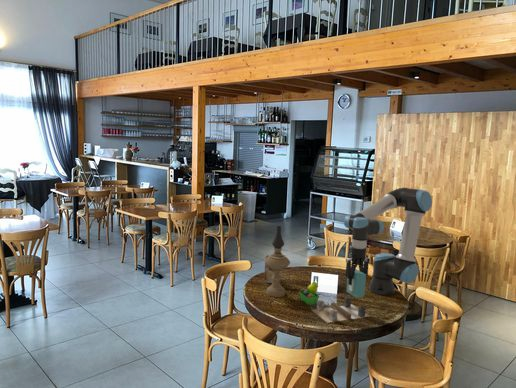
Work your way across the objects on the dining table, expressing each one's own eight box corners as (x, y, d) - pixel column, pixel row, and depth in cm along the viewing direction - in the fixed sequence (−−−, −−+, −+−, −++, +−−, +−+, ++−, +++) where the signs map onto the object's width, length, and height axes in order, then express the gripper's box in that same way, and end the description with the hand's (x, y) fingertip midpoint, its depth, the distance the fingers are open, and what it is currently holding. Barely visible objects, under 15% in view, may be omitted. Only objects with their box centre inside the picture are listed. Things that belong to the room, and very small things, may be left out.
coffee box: (280, 281, 260) (281, 256, 258) (277, 284, 254) (279, 259, 252) (266, 279, 263) (267, 255, 261) (263, 282, 257) (264, 257, 255)
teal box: (354, 290, 220) (355, 269, 219) (364, 296, 212) (366, 274, 211) (346, 291, 218) (347, 269, 217) (356, 297, 210) (358, 275, 209)
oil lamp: (283, 288, 248) (287, 223, 243) (292, 297, 234) (295, 229, 228) (260, 289, 244) (262, 224, 239) (266, 299, 230) (270, 229, 224)
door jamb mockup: (352, 305, 226) (353, 295, 225) (370, 317, 211) (371, 306, 210) (311, 310, 216) (311, 300, 215) (327, 323, 201) (327, 313, 201)
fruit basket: (297, 299, 232) (298, 279, 230) (311, 297, 235) (312, 278, 233) (307, 306, 221) (308, 286, 220) (321, 305, 224) (322, 285, 223)
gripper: (368, 244, 219) (365, 286, 222) (340, 246, 212) (336, 289, 215) (377, 248, 212) (374, 290, 215) (348, 250, 205) (345, 294, 208)
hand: (355, 290), depth 215 cm, fingers closed on teal box, 5 cm apart
